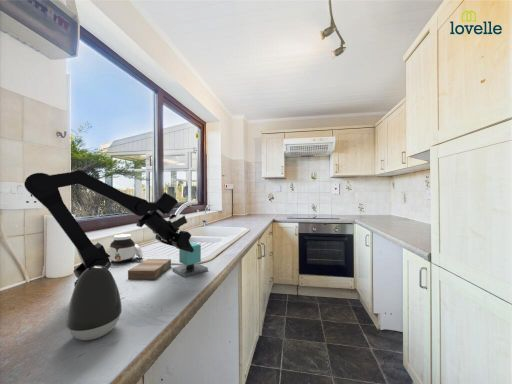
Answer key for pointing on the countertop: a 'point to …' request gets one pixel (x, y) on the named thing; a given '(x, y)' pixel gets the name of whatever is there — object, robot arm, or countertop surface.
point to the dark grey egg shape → (94, 304)
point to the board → (149, 269)
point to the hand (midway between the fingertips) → (186, 249)
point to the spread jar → (124, 249)
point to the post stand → (189, 269)
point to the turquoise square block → (190, 255)
